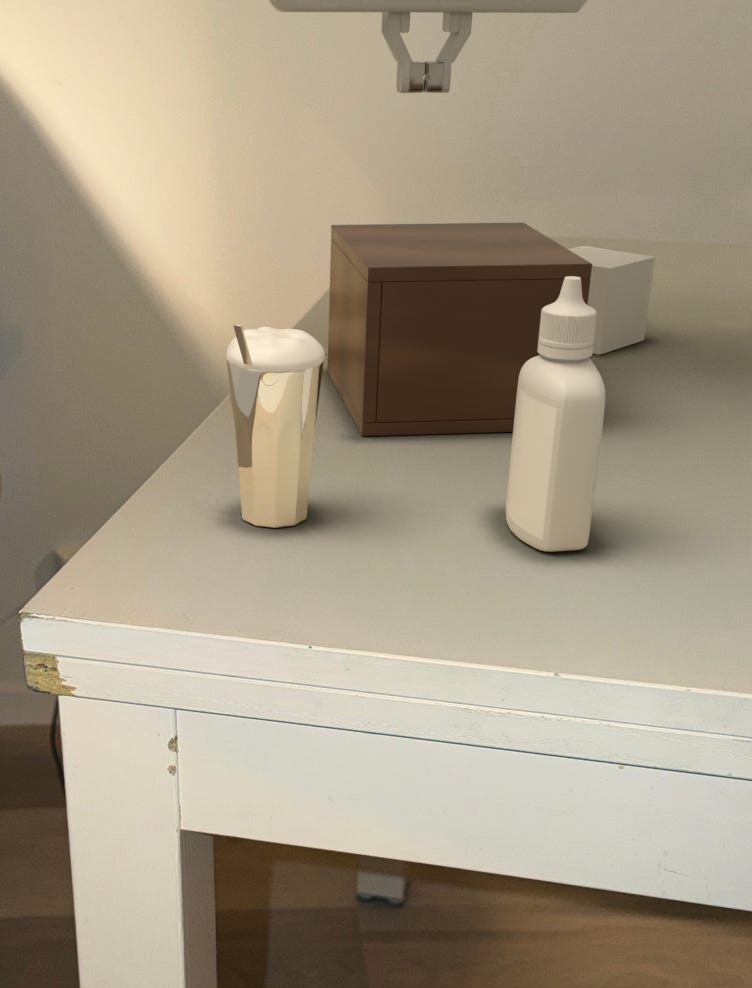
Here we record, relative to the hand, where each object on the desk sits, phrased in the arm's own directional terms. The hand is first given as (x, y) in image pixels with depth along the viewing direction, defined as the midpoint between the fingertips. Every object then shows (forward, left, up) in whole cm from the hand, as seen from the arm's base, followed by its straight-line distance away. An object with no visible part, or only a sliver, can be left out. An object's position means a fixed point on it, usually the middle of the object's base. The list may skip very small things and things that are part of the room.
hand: (422, 92), depth 84 cm
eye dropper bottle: (0, +33, -17) cm, 37 cm away
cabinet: (0, +11, -17) cm, 20 cm away
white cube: (-14, -3, -17) cm, 22 cm away
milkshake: (+13, +30, -17) cm, 37 cm away
